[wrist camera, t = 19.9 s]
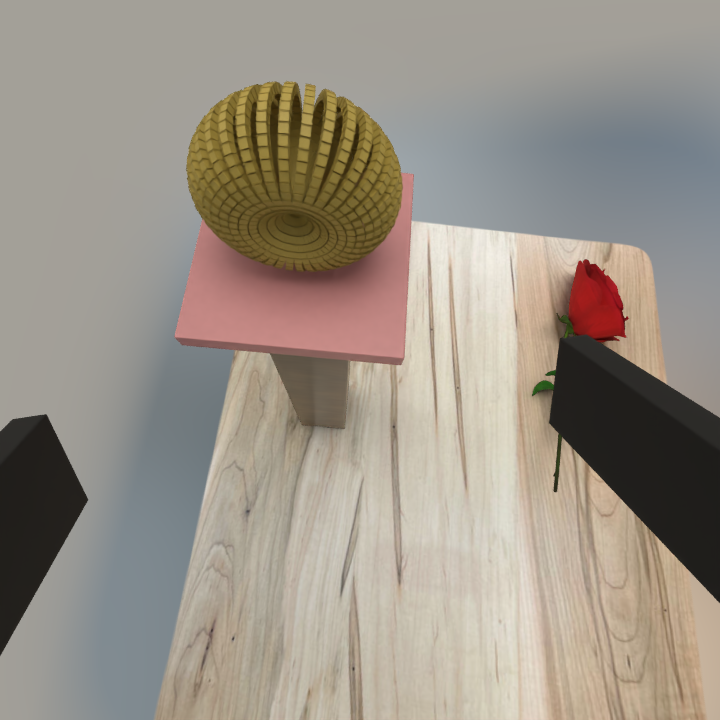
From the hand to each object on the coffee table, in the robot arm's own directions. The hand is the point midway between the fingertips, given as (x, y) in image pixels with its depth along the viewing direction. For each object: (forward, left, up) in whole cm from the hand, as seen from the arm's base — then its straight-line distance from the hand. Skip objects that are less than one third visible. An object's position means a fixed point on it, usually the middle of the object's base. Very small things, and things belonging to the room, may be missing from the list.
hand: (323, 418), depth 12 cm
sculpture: (-2, +9, -7) cm, 11 cm away
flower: (+27, +16, -40) cm, 50 cm away
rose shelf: (-2, +9, -7) cm, 12 cm away
